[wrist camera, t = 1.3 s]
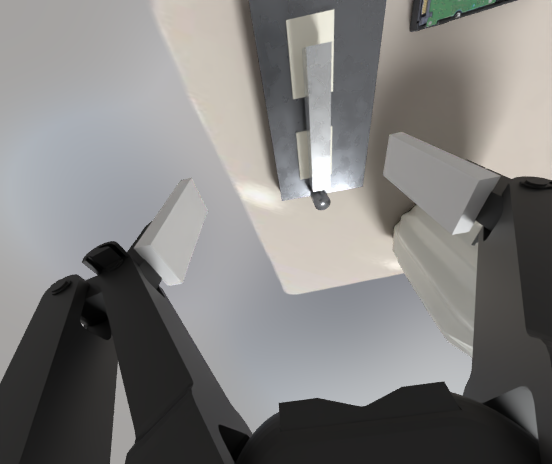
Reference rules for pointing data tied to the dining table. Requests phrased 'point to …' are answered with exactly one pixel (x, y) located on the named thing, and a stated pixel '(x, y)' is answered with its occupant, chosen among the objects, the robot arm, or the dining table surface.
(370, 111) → the plate
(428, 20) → the disk drive
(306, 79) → the gray rectangular bar
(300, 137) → the label
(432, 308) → the vase
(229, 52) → the dining table surface
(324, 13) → the label
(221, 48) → the dining table surface
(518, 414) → the robot arm
